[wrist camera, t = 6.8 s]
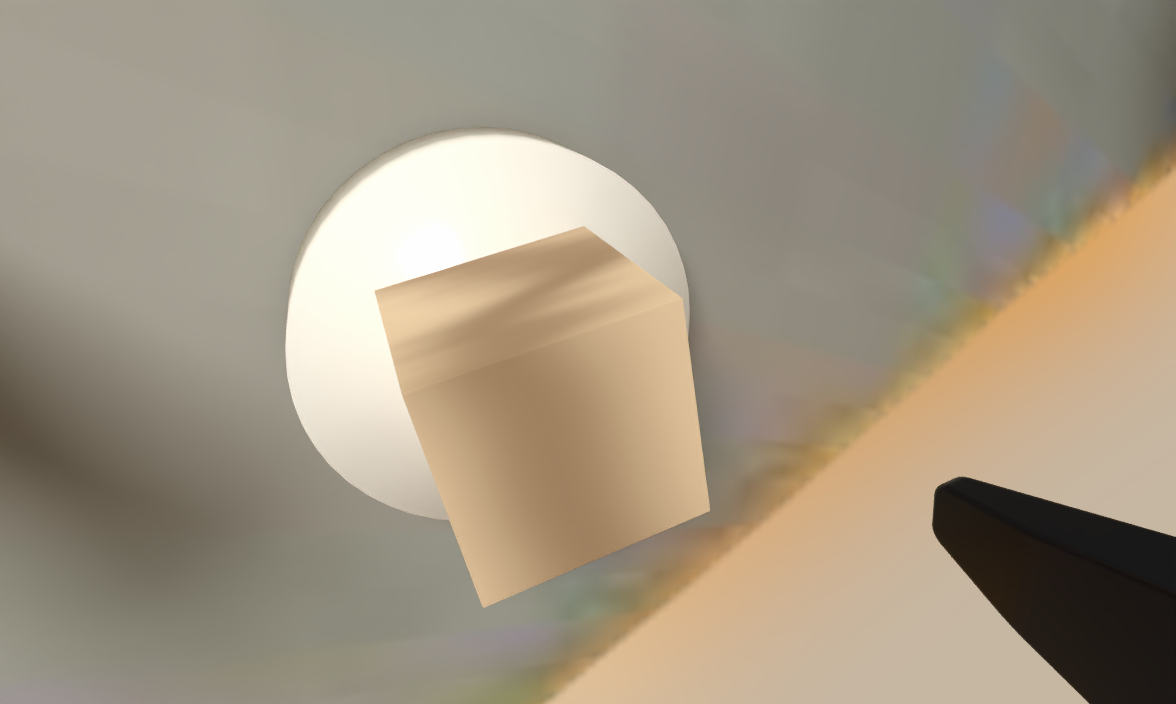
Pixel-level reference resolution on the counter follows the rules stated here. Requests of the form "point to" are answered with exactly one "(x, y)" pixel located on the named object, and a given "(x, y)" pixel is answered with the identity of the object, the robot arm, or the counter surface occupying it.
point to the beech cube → (549, 405)
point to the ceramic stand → (422, 246)
